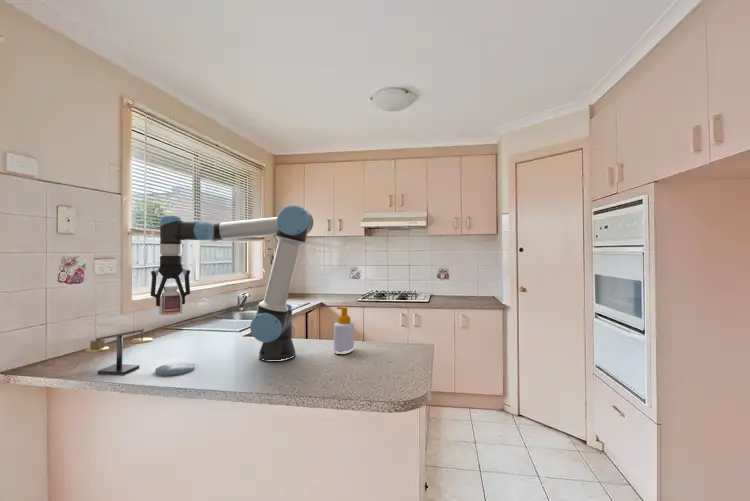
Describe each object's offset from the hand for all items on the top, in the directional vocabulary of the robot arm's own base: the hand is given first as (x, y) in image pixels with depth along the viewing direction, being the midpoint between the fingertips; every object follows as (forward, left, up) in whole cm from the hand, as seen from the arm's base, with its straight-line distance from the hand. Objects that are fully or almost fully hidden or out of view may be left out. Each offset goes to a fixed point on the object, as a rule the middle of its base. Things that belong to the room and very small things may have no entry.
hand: (170, 313), depth 146 cm
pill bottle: (0, 0, -1) cm, 1 cm away
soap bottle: (-65, -28, -21) cm, 74 cm away
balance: (+14, +9, -21) cm, 26 cm away
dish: (-6, +6, -21) cm, 22 cm away
